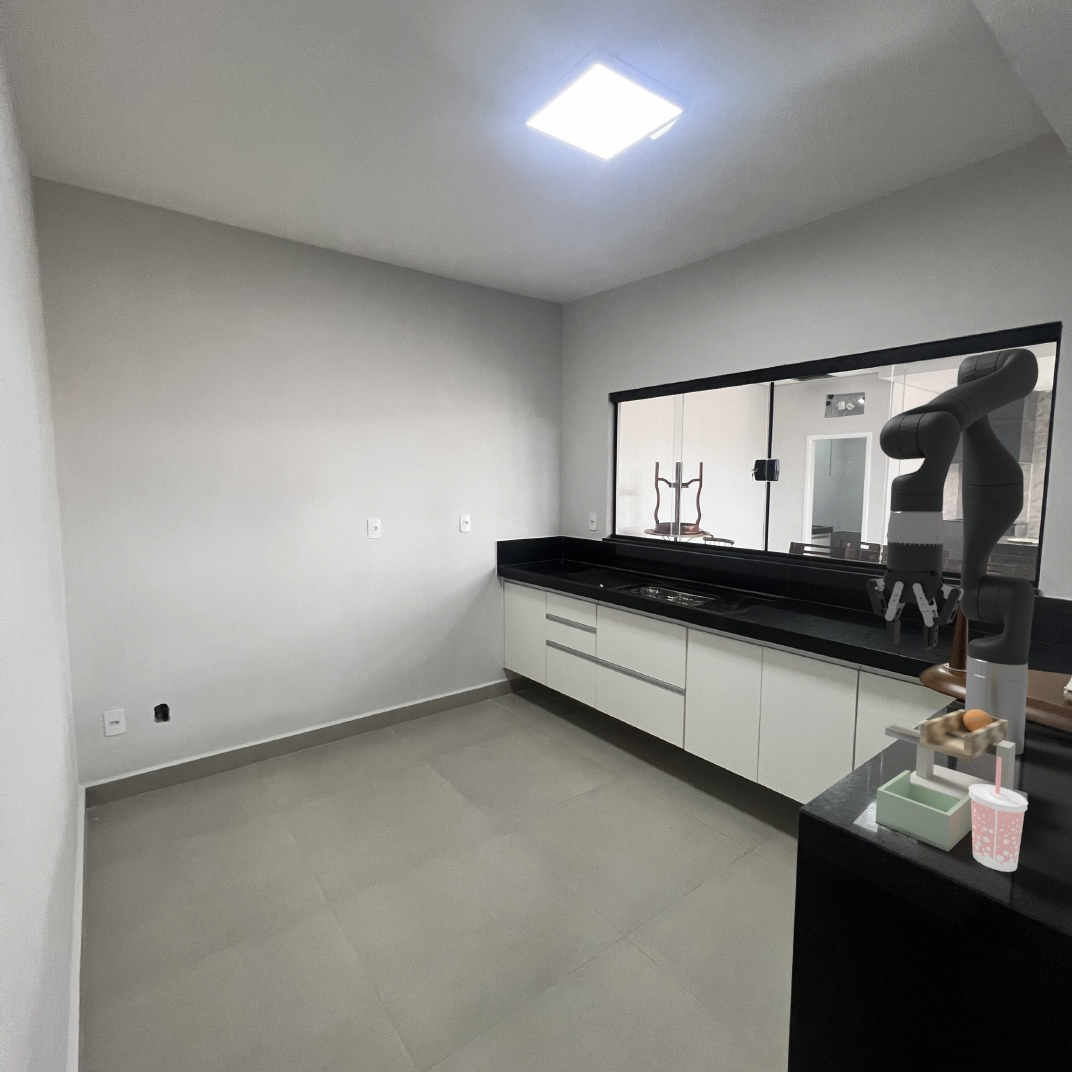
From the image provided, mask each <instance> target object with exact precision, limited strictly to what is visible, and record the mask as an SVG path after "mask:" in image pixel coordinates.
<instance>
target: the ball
mask: <svg viewBox="0 0 1072 1072" xmlns="http://www.w3.org/2000/svg"><path fill="white" fill-rule="evenodd" d="M963 721H964V724H965V726H966V727H967V729H969V730H970V731H971V732H973V731H976V730H978V729H980V728H982V727H985V726H987V725H989V724H992V723H993V721H992V718H991V717H990V715H989V714H987V713H986V712H984V711H982V710H979V709H973V710H969V711H968V712H966V713H965V715H964V718H963Z"/></svg>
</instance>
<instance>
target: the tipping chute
mask: <svg viewBox="0 0 1072 1072" xmlns="http://www.w3.org/2000/svg"><path fill="white" fill-rule="evenodd" d="M966 712H968V711H966V710H965V709H963V708H961V709H958V710H955V711H952V712H949V713H946V714H944V715H941V716H938V717H935V718H932V719H929V720H928V721H926V722H924V723H921V729H920V731H918V729H915V728H910V727H907V726H904V725H900V724H897V723H895V724H893V725H889V726H885V730H884V735H885V736H887V737H890V738H894V739H897V740H900V741H905V742H908V743H912V744H914V745H917V744H918V745H919V746H920V747H923V748H927V749H930V750H934V752H938V753H941V754H944V755H948V756H951V757H955V758H958V759H961V760H964V761H967V762H968V761H969V762H971V761H972V760H974V759H976V758H977V757H978V758H979V757H980V756H981V755H984V754H985V753H988V754H991V755H995V756H996V749H997V744H998V743H1000V742H1001V741H1002V740H1005V741H1006V737H1007V724H1008V720H1004V719H1000V718H995V717H991V716H990V717H991V718H992V721H993V723H992V724H989V725H987V726H985V727H982V728H980V729H978V730H976V731H973V732H971V731H970V730H969V729H967V727H966V726H965V724H964V721H963V718H964V715H965V713H966Z"/></svg>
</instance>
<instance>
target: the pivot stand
mask: <svg viewBox="0 0 1072 1072" xmlns="http://www.w3.org/2000/svg"><path fill="white" fill-rule="evenodd" d="M926 721H929V720H927V719H924V720H922V721H920V722H918V723H917V730H918V731H920V729H921V723H924V722H926ZM1015 744H1016V743H1012V742H1008V741H1005V740H1002V741H1001V742H1000V743H998V744H997V749H996V755H995V768H994V769H995V770H994V771H995V772H994V774H995V775H994V782H992V781H990V780H986V779H983V778H980V777H976V776H973V775H969V774H967V773H964V772H961V771H957V770H954V769H950V768H948V767H945V766H941V765H938V764H935V751H934V750H930V749H927V748H923V747H920V746H919V745H918V744H916V757H915V758H916V760H915V770H913V771H912V772H911V777H910V782H912V783H915V784H918V785H921V786H924V787H927V788H930V789H933V790H936V791H939V792H942V793H944V794H947V795H950V796H953V797H956V798H959V799H963V798H964V797H965V796H966V795H968V794H969V787H970V786H971V785H973V784H990V785H995V786H996V770H997V757H1001V758H1002V763H1001V783H1000V787H1003V788H1006V789H1009V790H1012V791H1014V792H1016V793H1018V794H1020V795H1022V796H1023V797H1024V798H1026V800H1027V801H1028V793H1027V792H1025V791H1021V790H1019V789H1015V788H1014V784H1015V783H1014V781H1015V780H1014V779H1015V762H1016V755H1015Z"/></svg>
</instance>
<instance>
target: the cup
mask: <svg viewBox="0 0 1072 1072" xmlns="http://www.w3.org/2000/svg"><path fill="white" fill-rule="evenodd" d="M911 773H912V772H911V770H908V769H906V770H904V771H902V772H901V773H899V774H898V775H897V776H895V777H893V778H892V779H890V780H889V781H887V782H885V783H884V784H882V785H881V786H879V787H878V788H877V789H876V802H875V803H876V806H875V823H877V824H879V825H882V826H884V825H885V826H884V827H886V826H887V828H889V827H890V828H889V829H892V830H894V831H897V832H899V833H901V834H904V835H907V836H909V837H911V838H913V839H916V840H919V841H920V842H923V843H925V844H929V845H930V846H933V847H935V848H938V849H940V850H943V851H945V852H947V853H948V852H950V850H952V849H953V848H954V847H955V846H957V844H958V843H959V842H960V841H961V840H962V839H963V838H964V837H965V836H967V834H968V833H969V832H970V831H972V813H971V797H970V796H969V794H968V795H966V796H965V797H964V798H963V799H959V798H956V797H953V796H950V795H947V794H944V793H942V792H939V791H936V790H933V789H930V788H927V787H924V786H921V785H918V784H915V783H912V782H910V777H911Z"/></svg>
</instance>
